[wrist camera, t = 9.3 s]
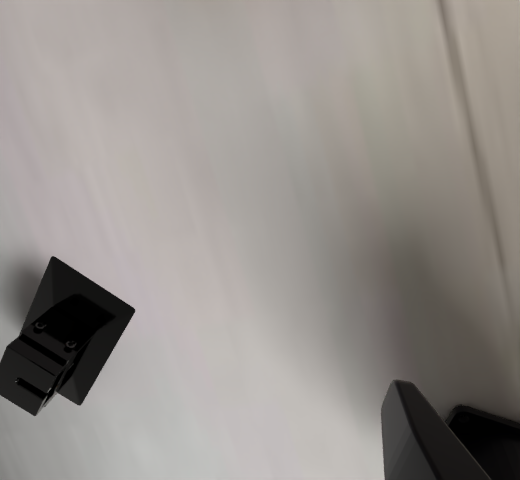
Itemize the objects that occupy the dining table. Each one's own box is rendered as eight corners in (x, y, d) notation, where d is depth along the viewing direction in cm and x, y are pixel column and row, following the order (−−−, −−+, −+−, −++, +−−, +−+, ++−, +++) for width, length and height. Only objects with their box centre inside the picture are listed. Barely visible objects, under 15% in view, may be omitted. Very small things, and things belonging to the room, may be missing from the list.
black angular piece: (88, 418, 30) (43, 478, 25) (-4, 362, 29) (-64, 413, 25) (162, 293, 24) (121, 343, 20) (50, 222, 24) (-15, 258, 20)
